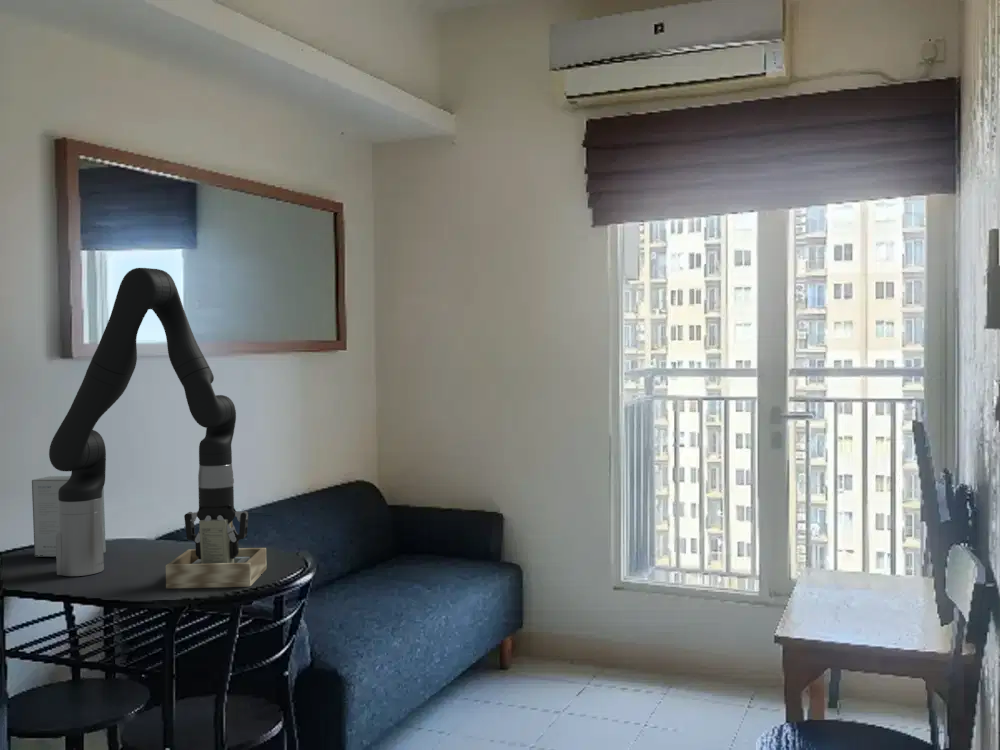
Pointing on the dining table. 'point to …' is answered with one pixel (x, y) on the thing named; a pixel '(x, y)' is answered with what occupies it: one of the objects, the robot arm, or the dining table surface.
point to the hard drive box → (50, 514)
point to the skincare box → (215, 541)
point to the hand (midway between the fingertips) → (217, 558)
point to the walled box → (216, 570)
